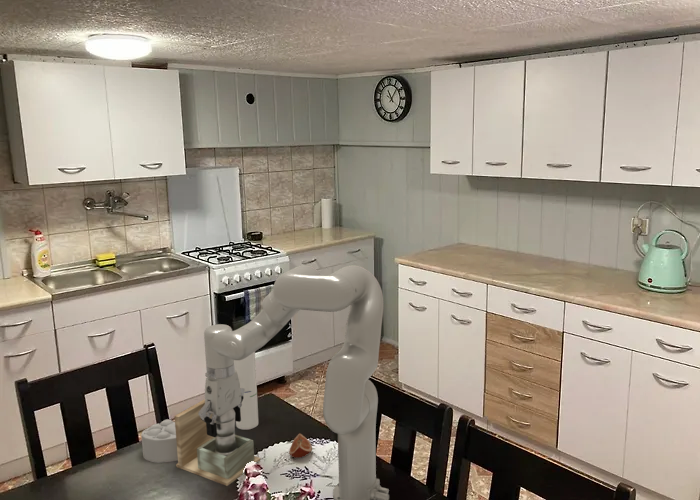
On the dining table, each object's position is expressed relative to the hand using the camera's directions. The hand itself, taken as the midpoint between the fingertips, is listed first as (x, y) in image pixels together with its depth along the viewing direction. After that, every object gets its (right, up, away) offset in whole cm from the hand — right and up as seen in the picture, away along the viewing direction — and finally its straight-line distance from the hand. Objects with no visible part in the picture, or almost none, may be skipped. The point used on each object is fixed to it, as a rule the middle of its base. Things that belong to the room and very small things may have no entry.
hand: (224, 427), depth 160 cm
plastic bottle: (0, -11, +2) cm, 11 cm away
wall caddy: (-2, -11, +4) cm, 12 cm away
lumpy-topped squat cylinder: (-19, -11, +10) cm, 24 cm away
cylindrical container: (+2, -7, +26) cm, 27 cm away
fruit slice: (+21, -11, +8) cm, 24 cm away
